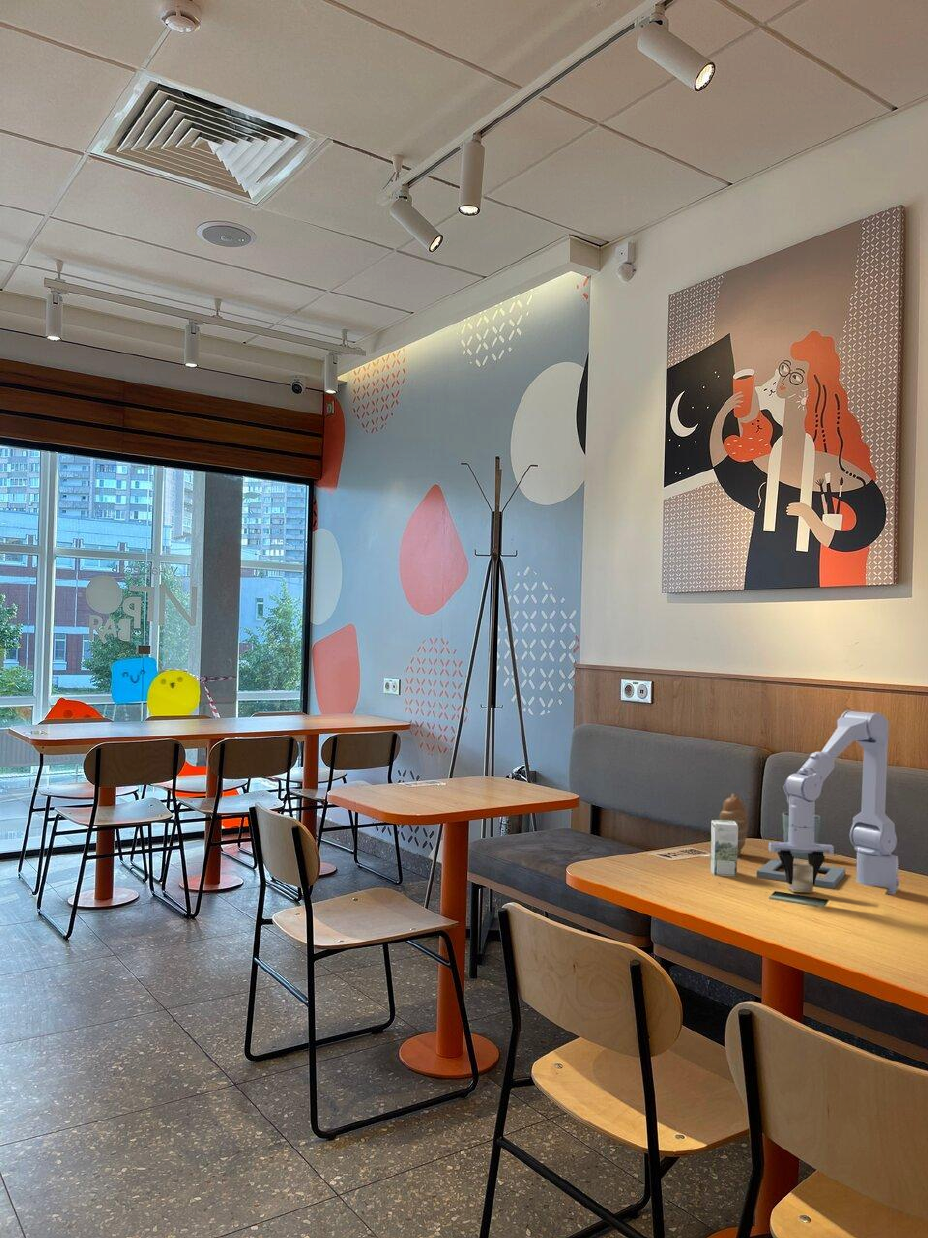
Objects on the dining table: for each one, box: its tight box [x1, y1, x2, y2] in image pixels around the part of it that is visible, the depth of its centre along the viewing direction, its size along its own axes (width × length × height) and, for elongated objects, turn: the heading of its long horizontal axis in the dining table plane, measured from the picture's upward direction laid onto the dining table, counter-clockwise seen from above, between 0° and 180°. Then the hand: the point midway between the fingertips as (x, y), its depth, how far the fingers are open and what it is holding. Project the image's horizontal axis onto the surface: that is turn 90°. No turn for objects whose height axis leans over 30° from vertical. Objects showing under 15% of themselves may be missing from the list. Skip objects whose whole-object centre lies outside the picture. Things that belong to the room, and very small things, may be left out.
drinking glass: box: [781, 811, 821, 861], centre depth 259 cm, size 10×10×12 cm
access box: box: [756, 857, 846, 890], centre depth 230 cm, size 18×18×3 cm
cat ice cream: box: [719, 792, 749, 857], centre depth 253 cm, size 9×8×18 cm
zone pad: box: [768, 890, 830, 908], centre depth 214 cm, size 12×10×1 cm
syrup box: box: [709, 819, 738, 877], centre depth 230 cm, size 6×6×14 cm
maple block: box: [786, 861, 814, 894], centre depth 214 cm, size 4×4×6 cm
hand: (800, 883), depth 214 cm, fingers closed on maple block, 4 cm apart
